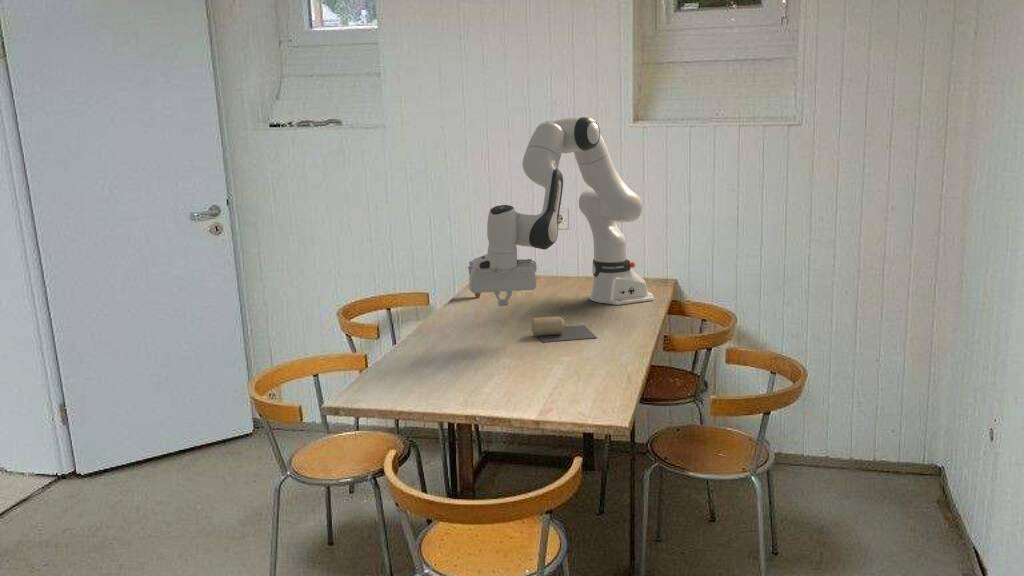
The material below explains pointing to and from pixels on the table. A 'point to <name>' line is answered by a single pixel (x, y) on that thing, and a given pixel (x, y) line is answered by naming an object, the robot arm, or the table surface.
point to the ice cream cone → (469, 274)
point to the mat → (569, 334)
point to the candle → (548, 326)
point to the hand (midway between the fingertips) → (503, 305)
